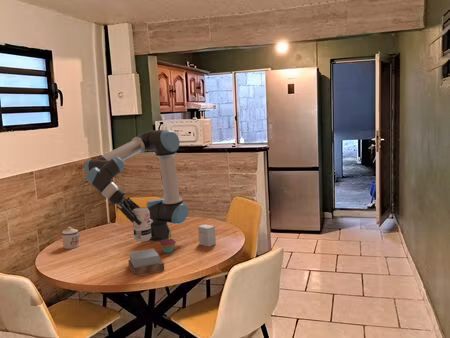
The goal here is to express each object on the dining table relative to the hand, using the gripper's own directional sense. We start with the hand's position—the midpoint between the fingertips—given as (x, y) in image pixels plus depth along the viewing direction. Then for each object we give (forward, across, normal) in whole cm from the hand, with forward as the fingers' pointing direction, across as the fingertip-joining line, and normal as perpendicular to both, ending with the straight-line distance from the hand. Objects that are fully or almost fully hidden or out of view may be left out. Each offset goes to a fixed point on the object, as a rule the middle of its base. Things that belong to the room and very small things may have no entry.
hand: (148, 225), depth 211 cm
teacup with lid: (-25, -37, -55) cm, 71 cm away
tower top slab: (+10, 0, -15) cm, 18 cm away
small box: (+31, -36, +1) cm, 48 cm away
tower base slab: (+14, 0, -17) cm, 22 cm away
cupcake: (+17, -24, -13) cm, 33 cm away
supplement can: (+2, 0, -7) cm, 8 cm away
